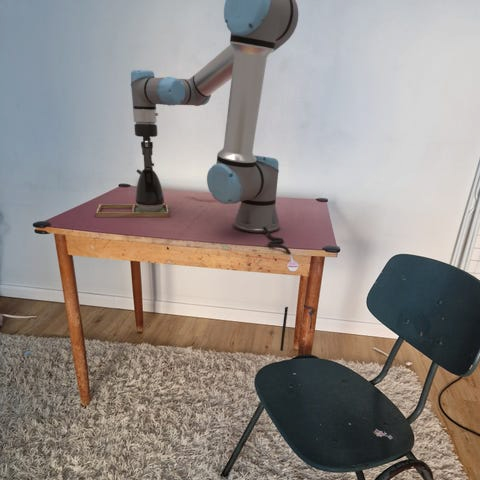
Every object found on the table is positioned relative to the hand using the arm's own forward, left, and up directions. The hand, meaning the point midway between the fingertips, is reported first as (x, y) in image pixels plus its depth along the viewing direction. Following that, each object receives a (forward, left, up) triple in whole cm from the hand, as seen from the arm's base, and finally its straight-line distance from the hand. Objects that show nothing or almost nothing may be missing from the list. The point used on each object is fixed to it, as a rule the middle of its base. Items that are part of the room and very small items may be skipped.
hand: (149, 188), depth 151 cm
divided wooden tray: (0, +6, -9) cm, 11 cm away
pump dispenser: (0, 0, -9) cm, 9 cm away
